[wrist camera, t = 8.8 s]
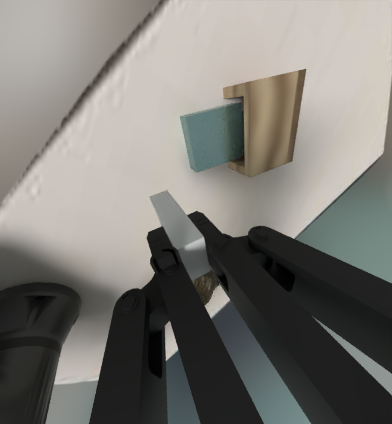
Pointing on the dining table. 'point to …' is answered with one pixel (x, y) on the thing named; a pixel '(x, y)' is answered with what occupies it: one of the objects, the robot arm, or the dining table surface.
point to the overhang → (268, 121)
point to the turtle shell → (205, 286)
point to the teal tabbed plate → (214, 136)
